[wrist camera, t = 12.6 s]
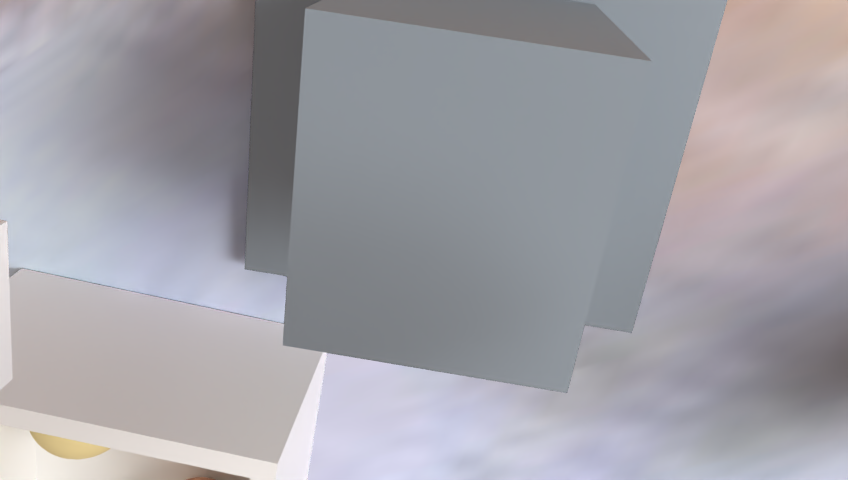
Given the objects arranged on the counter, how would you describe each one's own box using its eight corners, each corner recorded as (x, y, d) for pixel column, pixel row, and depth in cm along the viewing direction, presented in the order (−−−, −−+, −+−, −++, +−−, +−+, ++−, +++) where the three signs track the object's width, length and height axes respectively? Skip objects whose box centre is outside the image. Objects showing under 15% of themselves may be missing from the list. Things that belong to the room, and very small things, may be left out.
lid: (743, -97, 24) (928, -102, 13) (627, 317, 30) (692, 530, 19) (273, -165, 24) (104, -221, 14) (254, 256, 30) (127, 432, 20)
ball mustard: (154, 349, 31) (107, 407, 27) (150, 426, 33) (106, 491, 29) (59, 329, 31) (0, 384, 28) (60, 407, 33) (5, 469, 29)
